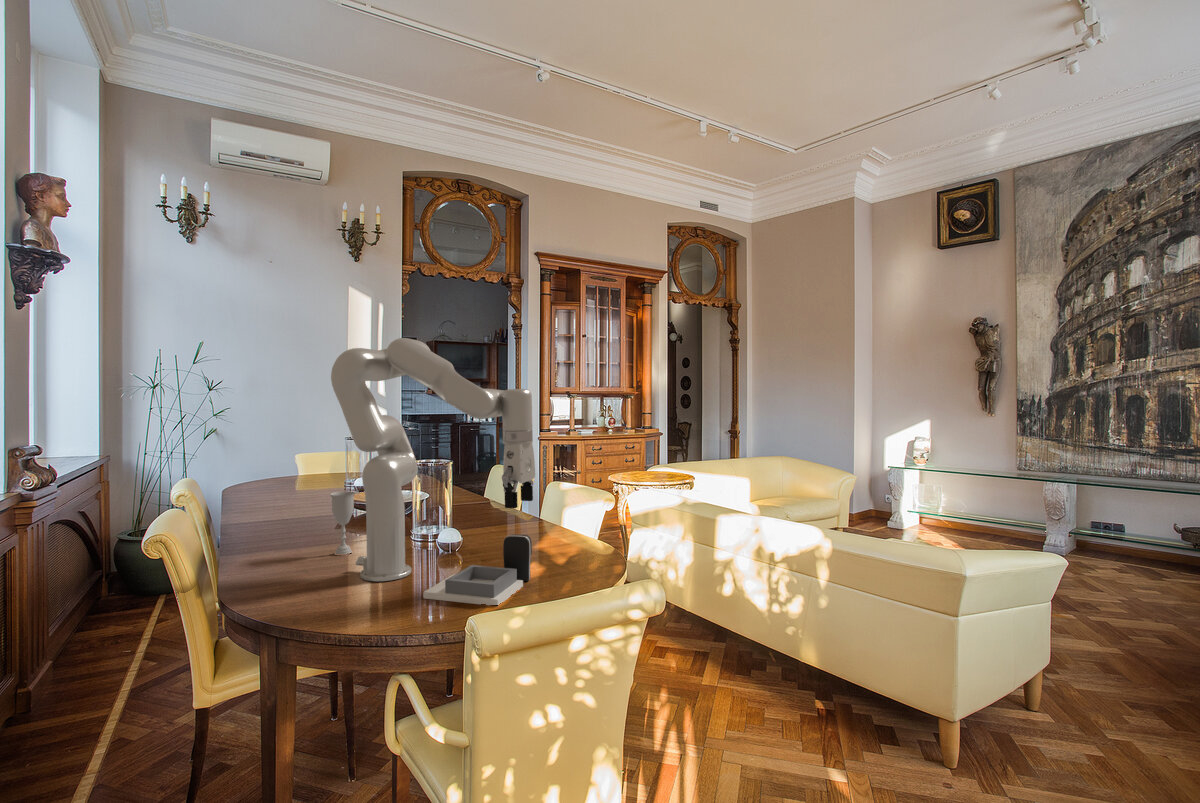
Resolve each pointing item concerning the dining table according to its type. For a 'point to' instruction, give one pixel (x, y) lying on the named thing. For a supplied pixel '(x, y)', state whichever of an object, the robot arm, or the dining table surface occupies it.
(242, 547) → the dining table surface
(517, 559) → the battery charger
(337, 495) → the chalice
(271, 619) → the dining table surface
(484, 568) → the dock
